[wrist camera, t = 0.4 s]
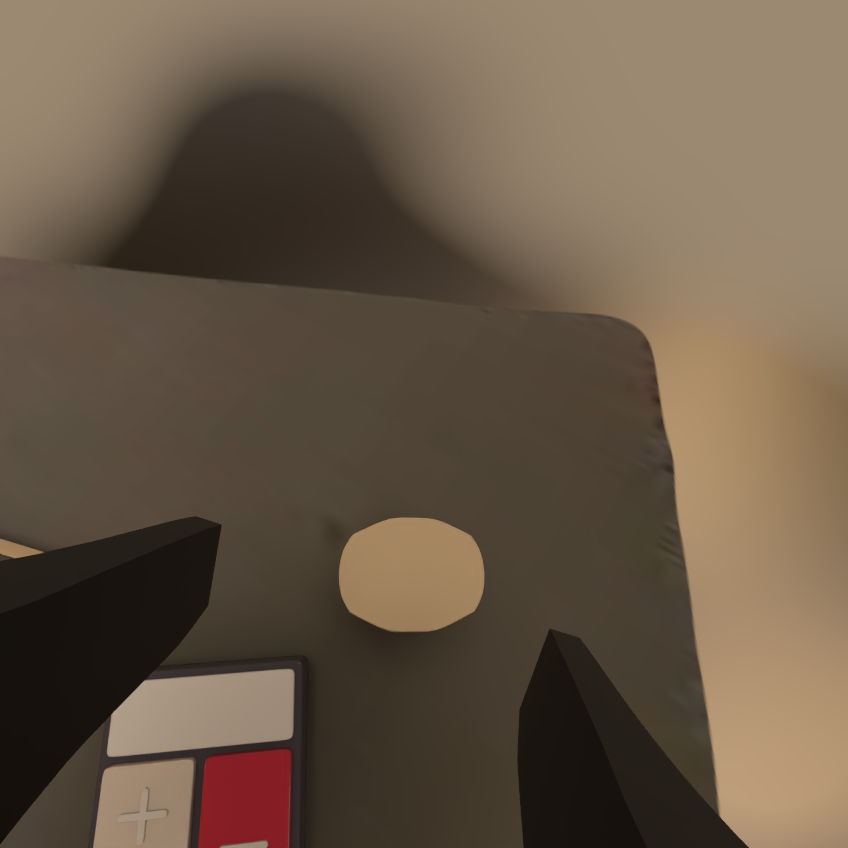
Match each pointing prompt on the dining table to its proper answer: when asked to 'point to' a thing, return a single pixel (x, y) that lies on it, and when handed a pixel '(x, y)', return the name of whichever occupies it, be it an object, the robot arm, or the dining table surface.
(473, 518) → the dining table surface
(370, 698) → the dining table surface
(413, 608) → the handle
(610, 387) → the dining table surface
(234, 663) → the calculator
